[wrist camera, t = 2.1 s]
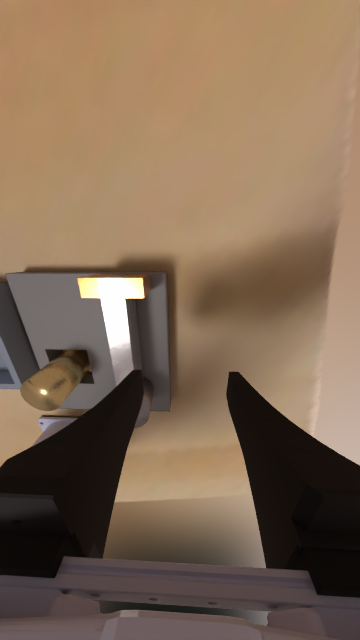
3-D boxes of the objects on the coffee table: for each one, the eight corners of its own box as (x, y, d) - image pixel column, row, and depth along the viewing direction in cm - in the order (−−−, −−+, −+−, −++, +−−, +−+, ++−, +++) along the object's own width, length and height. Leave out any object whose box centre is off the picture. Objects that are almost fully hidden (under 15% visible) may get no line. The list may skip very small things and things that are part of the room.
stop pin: (97, 370, 23) (66, 411, 17) (69, 369, 23) (28, 410, 17) (92, 344, 22) (55, 379, 16) (62, 344, 22) (14, 378, 16)
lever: (158, 402, 22) (153, 428, 18) (119, 401, 22) (107, 427, 19) (150, 274, 16) (140, 278, 13) (96, 274, 16) (73, 278, 13)
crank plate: (171, 399, 24) (169, 411, 23) (64, 396, 25) (54, 408, 23) (167, 271, 18) (165, 273, 16) (23, 271, 19) (4, 273, 17)
